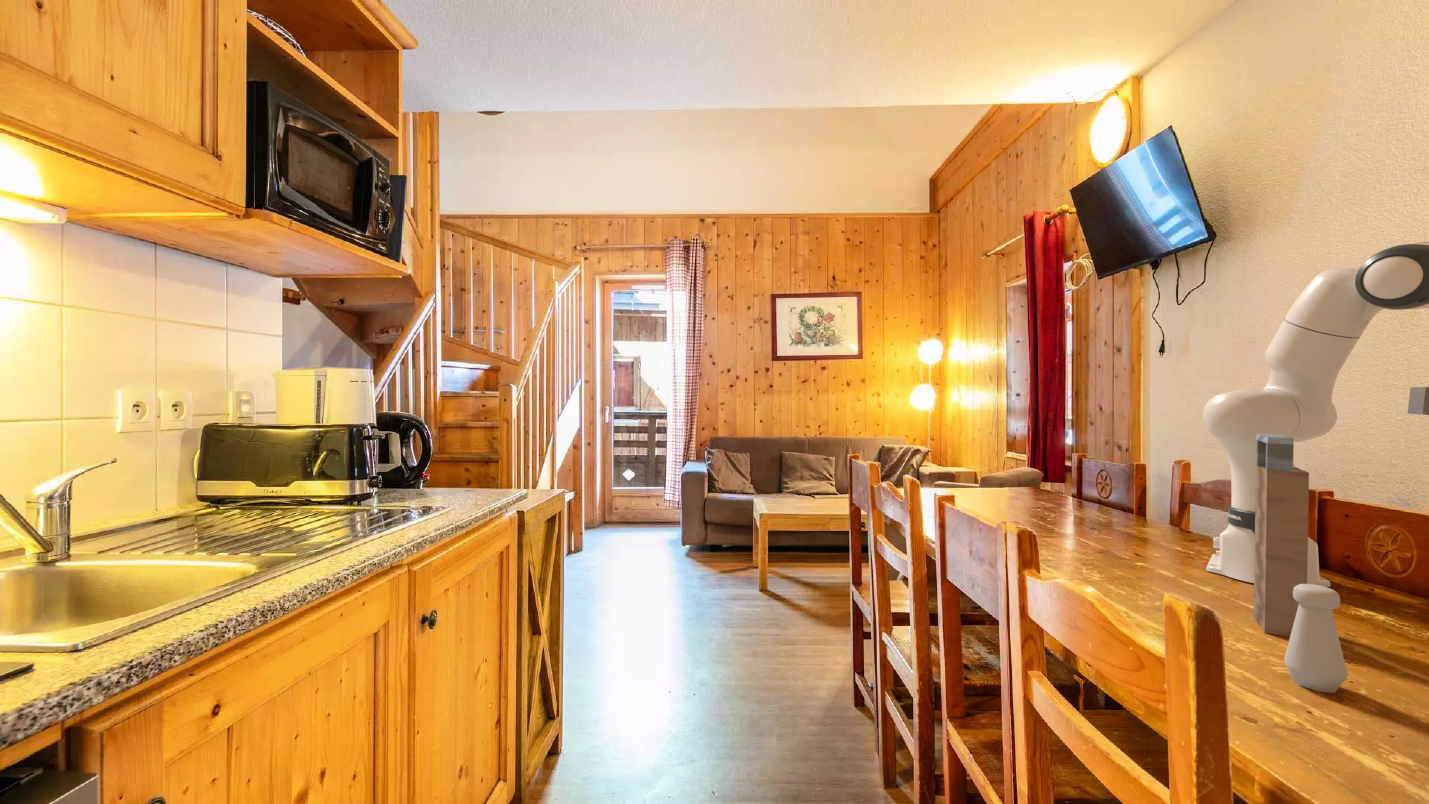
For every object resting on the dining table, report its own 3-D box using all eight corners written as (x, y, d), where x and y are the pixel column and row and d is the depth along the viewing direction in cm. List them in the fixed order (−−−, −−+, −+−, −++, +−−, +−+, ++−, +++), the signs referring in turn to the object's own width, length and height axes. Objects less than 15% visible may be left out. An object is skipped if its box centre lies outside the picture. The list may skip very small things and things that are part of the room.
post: (1253, 616, 101) (1256, 434, 100) (1292, 622, 98) (1295, 435, 98) (1264, 632, 94) (1267, 437, 94) (1306, 639, 92) (1309, 438, 91)
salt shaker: (1360, 698, 74) (1362, 595, 74) (1306, 694, 75) (1308, 592, 75) (1322, 676, 80) (1324, 581, 80) (1273, 672, 81) (1274, 578, 81)
